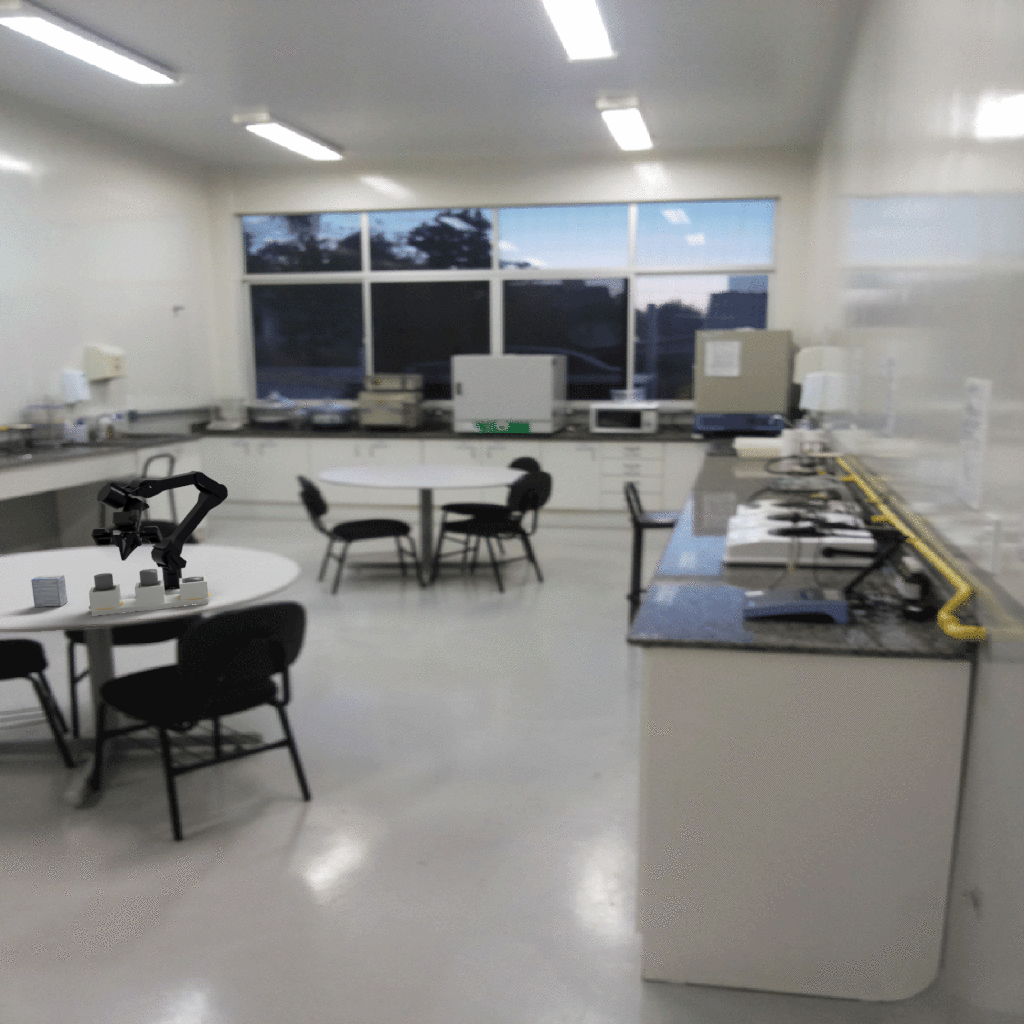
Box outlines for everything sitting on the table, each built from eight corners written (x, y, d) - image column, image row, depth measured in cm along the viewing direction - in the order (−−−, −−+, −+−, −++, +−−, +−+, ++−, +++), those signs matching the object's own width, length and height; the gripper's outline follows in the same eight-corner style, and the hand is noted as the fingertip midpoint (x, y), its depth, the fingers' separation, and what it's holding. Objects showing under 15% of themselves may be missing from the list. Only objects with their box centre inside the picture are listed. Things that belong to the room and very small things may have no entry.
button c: (96, 587, 255) (94, 574, 255) (114, 585, 257) (112, 572, 256) (94, 591, 251) (93, 577, 250) (113, 589, 253) (111, 576, 252)
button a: (185, 590, 264) (184, 577, 264) (202, 588, 266) (201, 575, 265) (185, 594, 260) (184, 581, 259) (202, 592, 262) (201, 579, 261)
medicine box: (68, 602, 265) (65, 574, 263) (61, 606, 261) (58, 578, 259) (41, 603, 265) (38, 575, 263) (34, 607, 260) (30, 579, 259)
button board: (90, 608, 258) (88, 586, 257) (210, 595, 270) (208, 574, 269) (87, 617, 249) (85, 594, 248) (211, 603, 260) (209, 581, 259)
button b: (140, 583, 260) (139, 570, 259) (158, 581, 261) (157, 568, 261) (140, 587, 255) (139, 573, 254) (158, 585, 257) (156, 571, 256)
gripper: (90, 501, 259) (80, 546, 251) (156, 499, 261) (149, 543, 253) (101, 522, 268) (92, 566, 260) (165, 520, 271) (158, 564, 262)
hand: (123, 559), depth 258 cm, fingers closed
